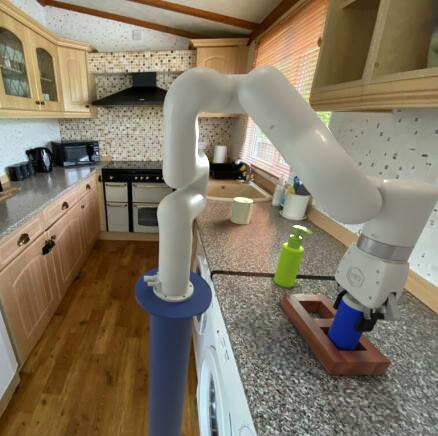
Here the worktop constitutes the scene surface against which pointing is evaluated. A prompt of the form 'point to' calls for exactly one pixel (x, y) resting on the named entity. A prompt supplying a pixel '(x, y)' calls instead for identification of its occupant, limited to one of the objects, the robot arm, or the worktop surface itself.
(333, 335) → the beverage can
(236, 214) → the can
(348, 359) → the holder
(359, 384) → the worktop surface
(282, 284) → the soap dispenser
